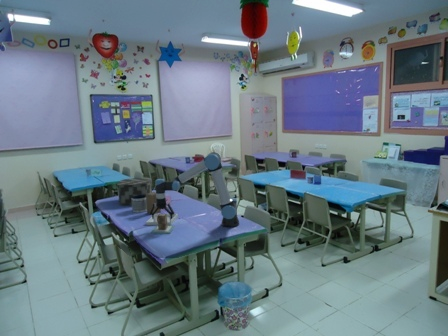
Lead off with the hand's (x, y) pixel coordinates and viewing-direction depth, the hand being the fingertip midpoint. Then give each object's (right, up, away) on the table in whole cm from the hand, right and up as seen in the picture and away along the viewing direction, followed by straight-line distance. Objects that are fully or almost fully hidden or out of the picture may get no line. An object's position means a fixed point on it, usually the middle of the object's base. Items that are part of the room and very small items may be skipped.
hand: (162, 222), depth 270 cm
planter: (-34, +2, +60) cm, 69 cm away
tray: (-5, -3, +23) cm, 24 cm away
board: (0, -6, +1) cm, 7 cm away
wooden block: (-18, +1, +50) cm, 53 cm away
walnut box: (0, -5, +1) cm, 5 cm away
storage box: (-48, +8, +98) cm, 109 cm away
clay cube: (-5, -3, +17) cm, 18 cm away
